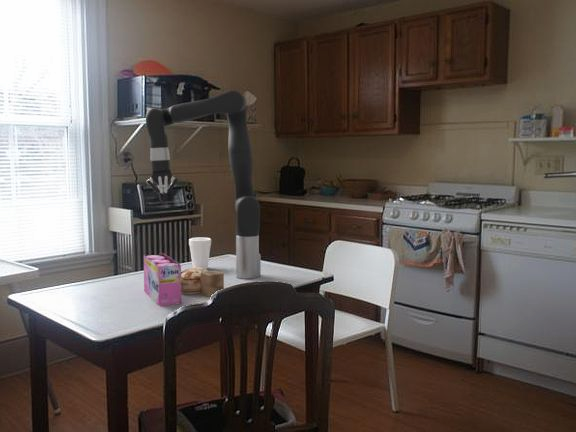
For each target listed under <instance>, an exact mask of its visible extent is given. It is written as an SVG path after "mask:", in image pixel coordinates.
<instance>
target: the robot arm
mask: <svg viewBox="0 0 576 432" xmlns="http://www.w3.org/2000/svg"><path fill="white" fill-rule="evenodd" d="M217 114H218V115H219V114H226V117H227V122H228V141H227V143H228V145H227V146H228V158H229V164H230V169H231V170H230V171H231V174H232V179H233V183H234V185H233V186H234V200H235V202H234V208H235V211H236V229H235V248H236V249H235V251H236V252H235V255H236V257H235V261H236V262H235V264H236V265H235V267H236V268H235V269H236V270H235V275H236V278H238V279H245V280H246V279H248V280H249V279H257V278H259V277H261V275H262V274H261V270H262V269H261V267H262V266H261V264H262V263H261V262H262V261H261V258H262V257H261V253H259V252H260V251H259V250H260V249H259V248H260V247H259V246H260V242H259V240H260V239H259V238H260V236H259V235H260V234H259V233H260V227H261V226H260V225H261V207H260V203H259V201H258V200H257V198H256V197H255V193H254V188H253V172H254V170H253V168H254V162H253V160H254V159H253V152H252V145H251V139H250V135H249V131H248V123H247V100H246V97H245V95H244V94H243V93H242V92H240V91H238V90H235V89H231V90H227V91H225V92H223V93H221V94H218V95H215V96H212V97H209V98H206V99H200V100H195V101H188V102H184V103H178V104H174V105H172V106H170V107H166V108H161V109H159V108H150V109H148V111H147V112H146V114H145V124H146V128H147V133H148V136H149V137H148V138H149V148H150V151H149V153H150V154H149V155H150V156H149V159H150V169H151V175H150V177H149V179H146V181H145V183H146V184H147V185H148V187H150V188H151V190H153V192H154V193H158V195H159V202H161V203H167V201H168V193H169V192H172V190H173V189H174V187H175V185H176V184H177V183H178V180H179V179H178V178H176V177H174V176H173V173H172V171H171V159H170V158H171V157H170V149H169V142H168V136H167V134H166V132H165V127H168V126H170V125H174V124H179V123H183V122H188V121H193V120H196V119H201V118H203V117H206V116H210V115H211V116H212V115H217ZM169 182H170V184H169ZM154 183H155V184H154ZM168 184H169V185H168ZM156 186H157V187H156Z"/></svg>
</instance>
